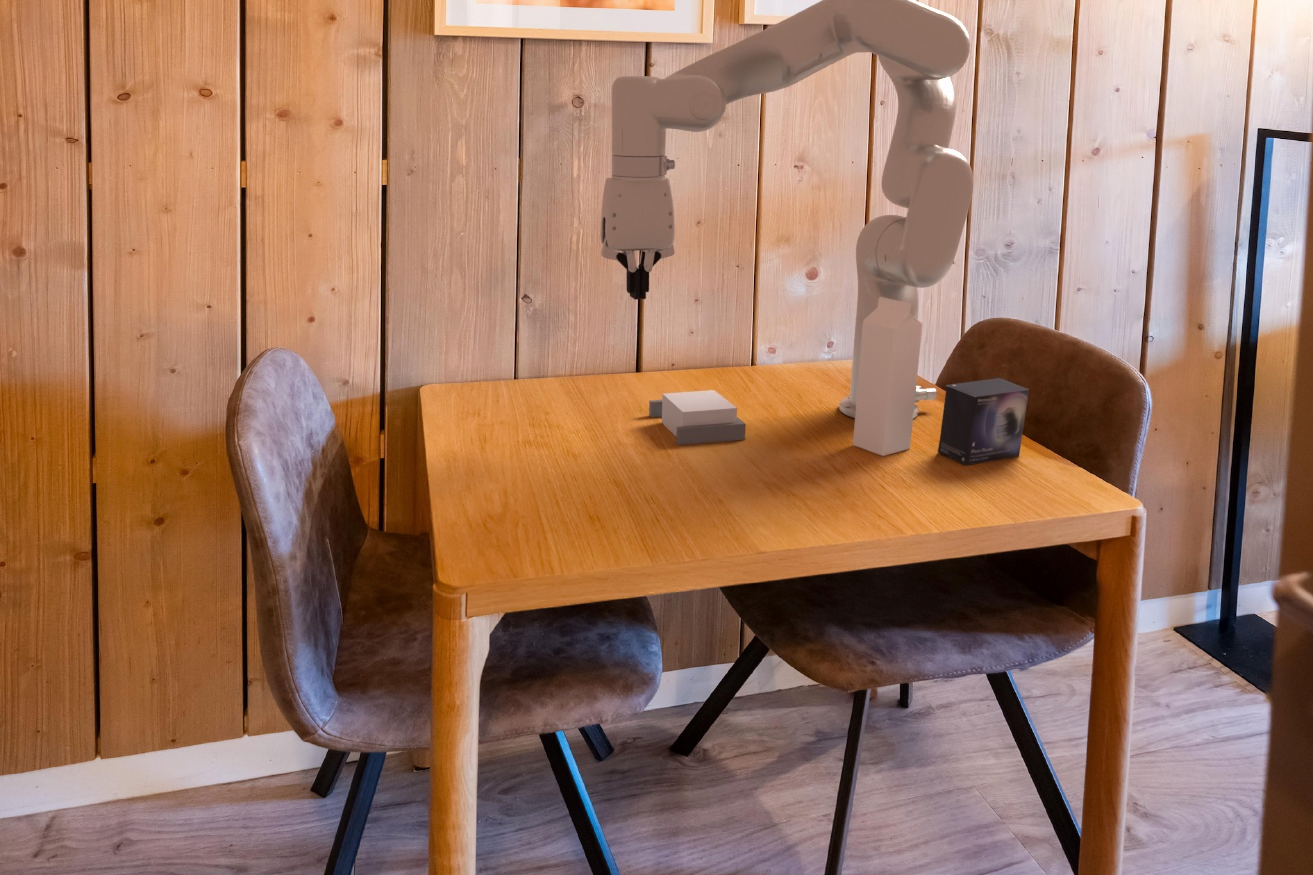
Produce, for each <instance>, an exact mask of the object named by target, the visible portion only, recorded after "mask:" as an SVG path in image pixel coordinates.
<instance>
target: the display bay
mask: <svg viewBox="0 0 1313 875" xmlns="http://www.w3.org/2000/svg"><path fill="white" fill-rule="evenodd" d="M648 403H649V406H648V409H649V411H648V414H649V415H648V416H649V417H650V418H659V417H661V418H662V399H653V400H649V401H648ZM746 425H747V424H746V423H745V422H744V421H743V420H742V419H740V418H739V417H738V416H737V422H734V423H721V424H708V425H695V426H682V427H677V432H676V436H675V437H676V438H675V441H676V445H678V446H683V445H696V444H697V445H698V444H707V443H708V444H709V443H720V442H734V441H745V440H746Z"/></svg>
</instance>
